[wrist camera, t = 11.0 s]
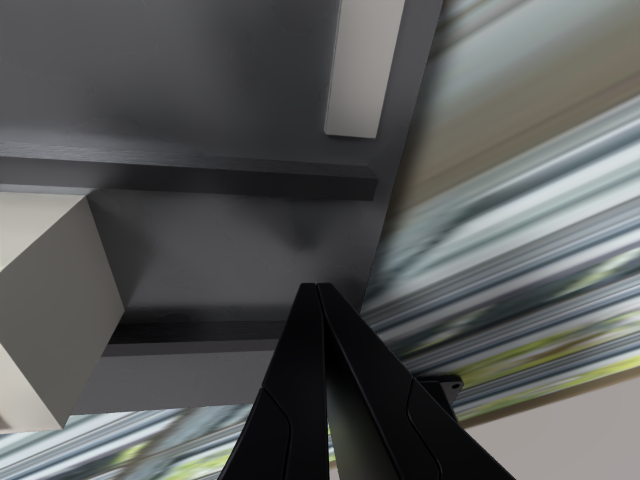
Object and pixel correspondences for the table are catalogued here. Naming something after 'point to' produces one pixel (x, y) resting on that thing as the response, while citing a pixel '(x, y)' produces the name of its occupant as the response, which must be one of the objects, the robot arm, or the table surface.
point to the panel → (212, 166)
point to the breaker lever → (50, 307)
